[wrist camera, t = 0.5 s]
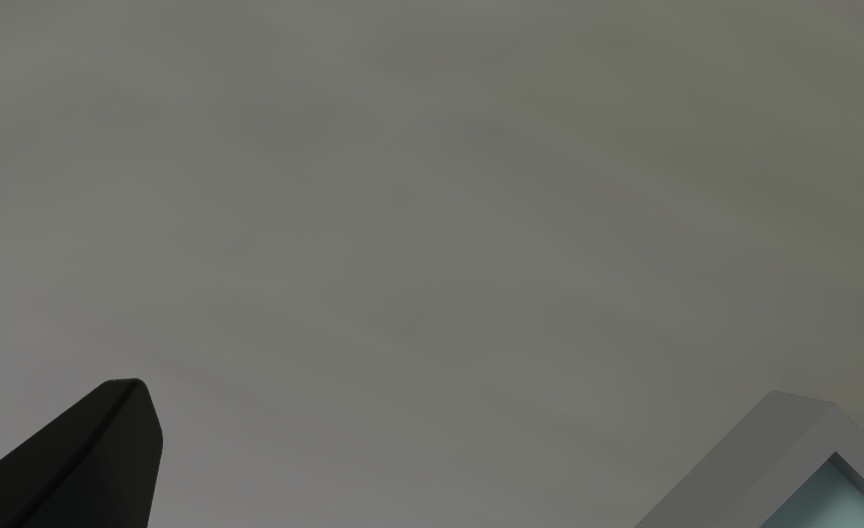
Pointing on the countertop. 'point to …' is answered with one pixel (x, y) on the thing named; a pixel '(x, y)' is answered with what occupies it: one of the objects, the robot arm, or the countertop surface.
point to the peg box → (775, 472)
